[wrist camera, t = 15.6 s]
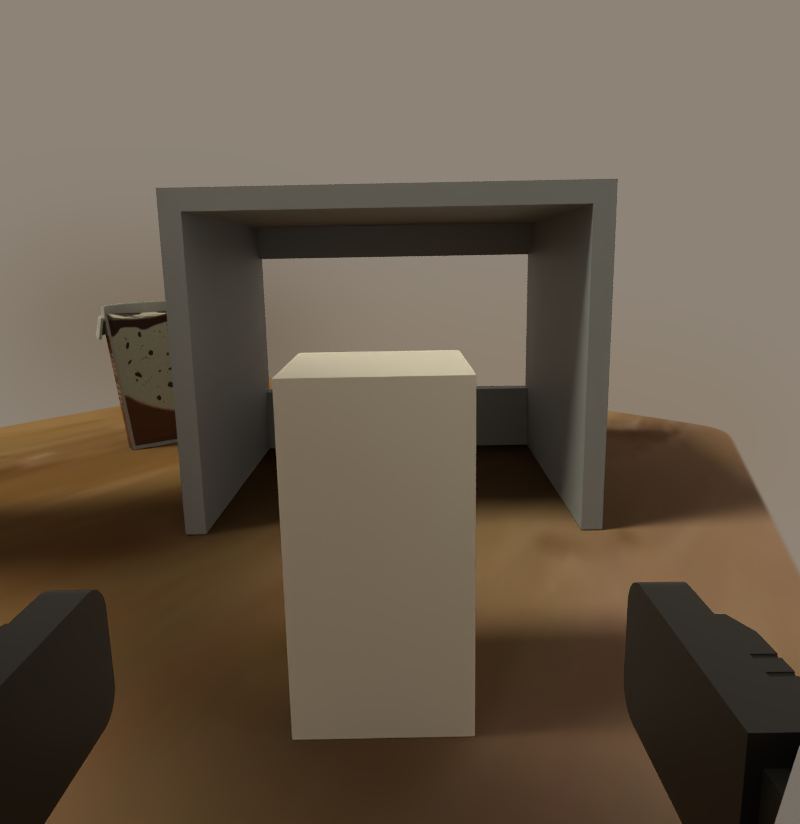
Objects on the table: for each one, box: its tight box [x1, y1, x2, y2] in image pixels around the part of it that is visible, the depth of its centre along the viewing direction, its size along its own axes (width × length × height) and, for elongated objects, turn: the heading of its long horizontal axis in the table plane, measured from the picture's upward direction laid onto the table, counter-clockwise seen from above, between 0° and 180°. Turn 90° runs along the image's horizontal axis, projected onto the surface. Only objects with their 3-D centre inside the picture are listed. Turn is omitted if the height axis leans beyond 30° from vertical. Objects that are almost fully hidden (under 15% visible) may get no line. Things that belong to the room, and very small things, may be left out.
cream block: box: [272, 350, 476, 740], centre depth 21 cm, size 5×5×10 cm
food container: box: [96, 301, 178, 450], centre depth 54 cm, size 12×6×10 cm, turn 128°
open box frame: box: [156, 179, 618, 534], centre depth 41 cm, size 20×17×16 cm
